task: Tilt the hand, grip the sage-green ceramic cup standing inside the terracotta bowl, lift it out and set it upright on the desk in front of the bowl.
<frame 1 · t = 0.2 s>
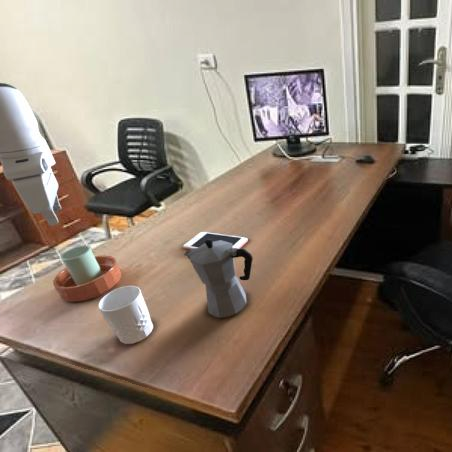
hand: (56, 217, 83), 21 cm above the table, tool pointing down, fingers open, 8 cm apart
bowl: (93, 285, 94), on the table
cell phone: (216, 245, 107), on the table
white cup: (137, 333, 77), on the table
coffeepot: (232, 305, 83), on the table
cup: (92, 283, 94), point 1 cm above the table, touching bowl
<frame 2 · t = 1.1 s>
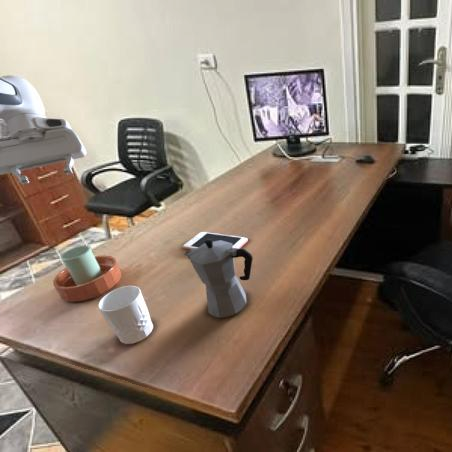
hand: (47, 178, 90), 28 cm above the table, tool tilted 45°, fingers open, 8 cm apart
nothing on the table moved.
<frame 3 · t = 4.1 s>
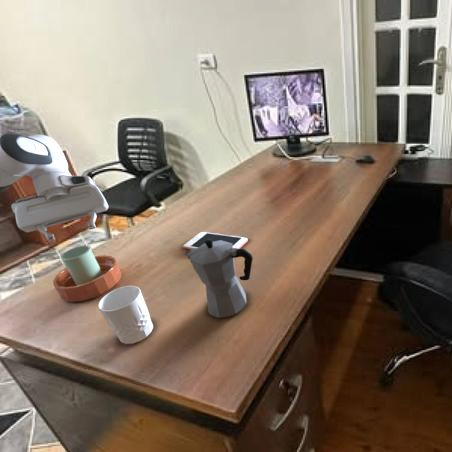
hand: (72, 234, 93), 13 cm above the table, tool tilted 45°, fingers open, 8 cm apart
nothing on the table moved.
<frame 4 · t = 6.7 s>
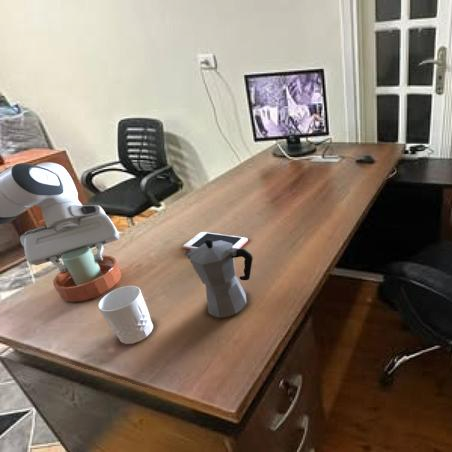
hand: (82, 266, 90), 7 cm above the table, tool tilted 45°, fingers closed on cup, 6 cm apart
cup: (92, 283, 94), point 1 cm above the table, touching bowl, gripper
everything else where it was.
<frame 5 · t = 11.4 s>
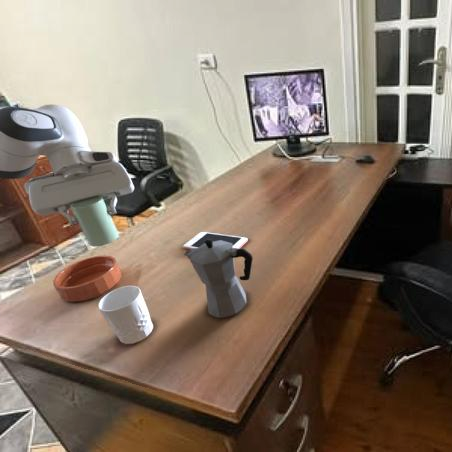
hand: (94, 218, 80), 21 cm above the table, tool tilted 45°, fingers closed on cup, 6 cm apart
cup: (104, 239, 84), point 15 cm above the table, touching gripper
everything else where it was.
when the fingers open (6 cm above the table, at t = 16.3 s): cup stays where it is, on the table.
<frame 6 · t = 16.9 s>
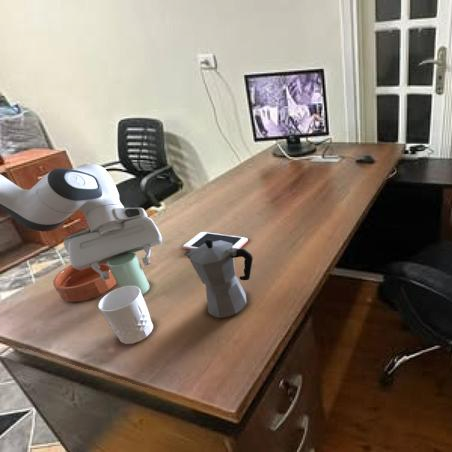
hand: (127, 271, 87), 6 cm above the table, tool tilted 45°, fingers open, 8 cm apart
cup: (136, 290, 90), on the table
everything else where it was.
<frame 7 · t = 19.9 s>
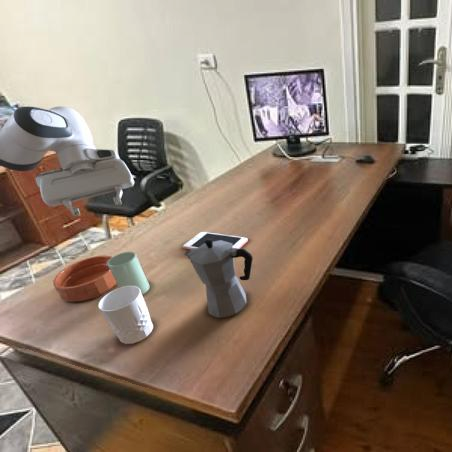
hand: (98, 209, 89), 20 cm above the table, tool tilted 45°, fingers open, 8 cm apart
nothing on the table moved.
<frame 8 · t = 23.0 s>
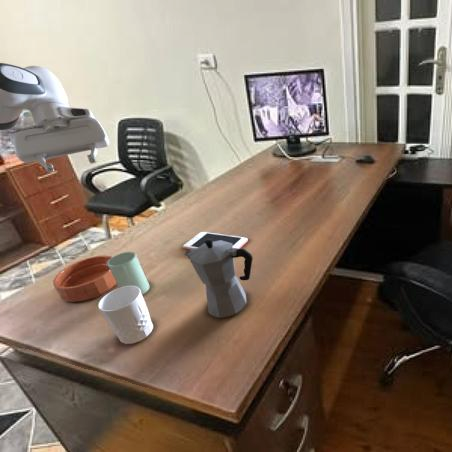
hand: (72, 166, 90), 29 cm above the table, tool tilted 45°, fingers open, 8 cm apart
nothing on the table moved.
at the end: cup inside the target area (0.1 cm from its centre), on the table; cup tilted 0°; cup touching table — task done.
